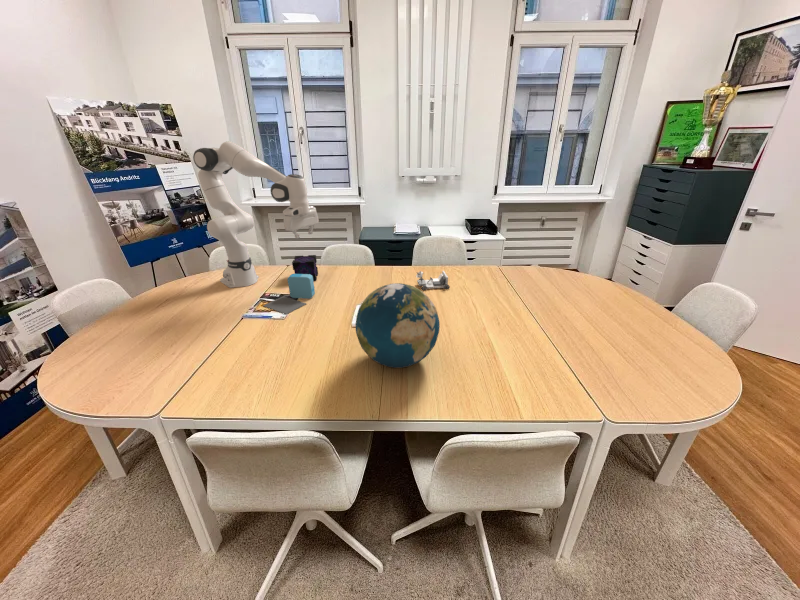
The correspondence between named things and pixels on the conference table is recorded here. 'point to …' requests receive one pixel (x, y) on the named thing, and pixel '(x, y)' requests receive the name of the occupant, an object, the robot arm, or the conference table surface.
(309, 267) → the energy cube
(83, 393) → the conference table surface
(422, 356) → the globe
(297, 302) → the mat
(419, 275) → the toy car
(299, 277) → the light blue flat block
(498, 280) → the conference table surface
